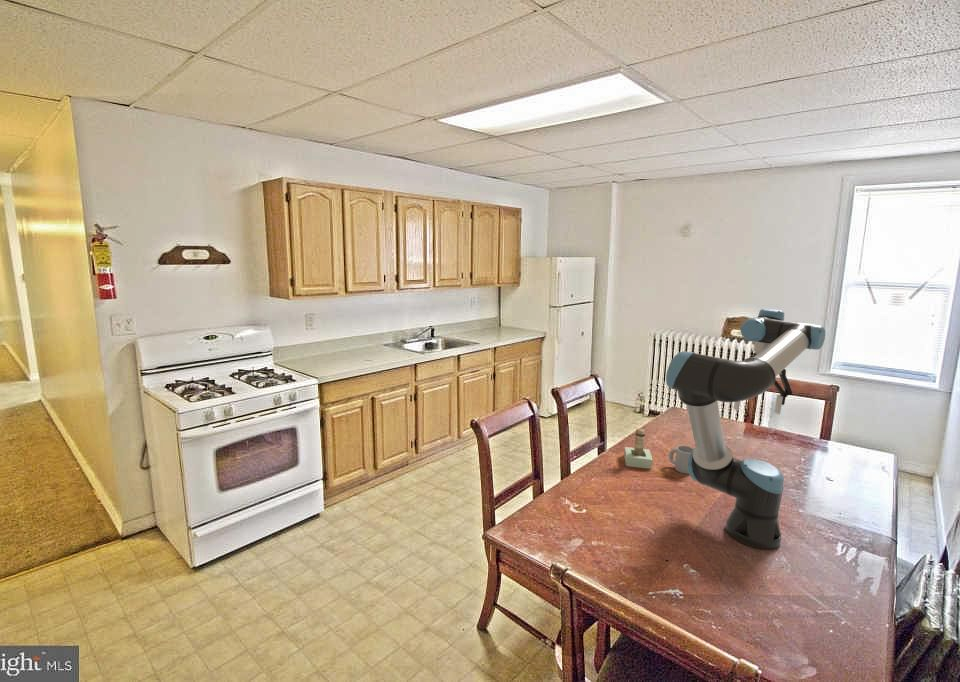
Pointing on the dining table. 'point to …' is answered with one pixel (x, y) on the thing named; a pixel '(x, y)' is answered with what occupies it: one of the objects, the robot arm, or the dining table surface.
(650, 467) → the square block with hole
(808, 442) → the dining table surface
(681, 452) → the cup
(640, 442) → the striped wooden dowel
